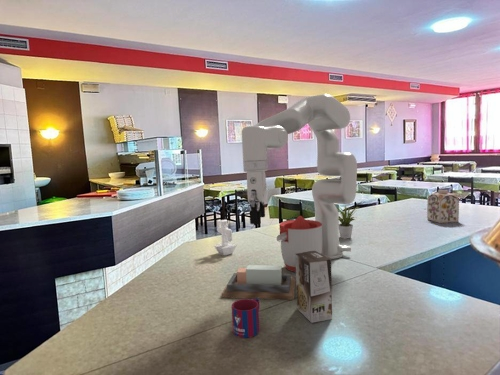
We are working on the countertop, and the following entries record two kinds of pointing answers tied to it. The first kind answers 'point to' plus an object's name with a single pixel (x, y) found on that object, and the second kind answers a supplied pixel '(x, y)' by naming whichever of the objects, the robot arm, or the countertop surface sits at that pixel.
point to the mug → (246, 317)
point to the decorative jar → (443, 207)
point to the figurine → (225, 238)
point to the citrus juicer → (299, 239)
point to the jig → (261, 289)
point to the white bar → (260, 275)
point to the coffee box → (314, 286)
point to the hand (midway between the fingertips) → (257, 220)
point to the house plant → (346, 223)
